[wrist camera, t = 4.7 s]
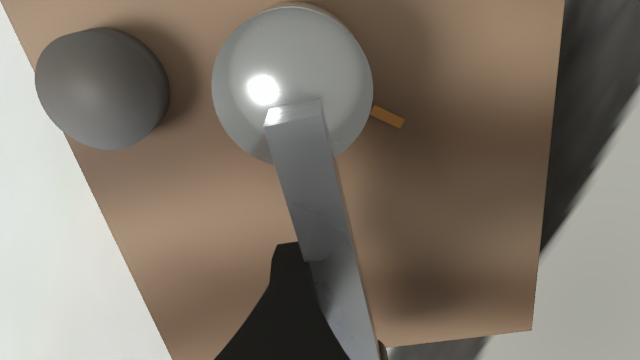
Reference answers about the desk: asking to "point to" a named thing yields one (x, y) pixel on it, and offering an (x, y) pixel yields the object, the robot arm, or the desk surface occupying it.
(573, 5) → the desk surface
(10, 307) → the desk surface
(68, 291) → the desk surface
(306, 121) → the door lever handle
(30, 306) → the desk surface
